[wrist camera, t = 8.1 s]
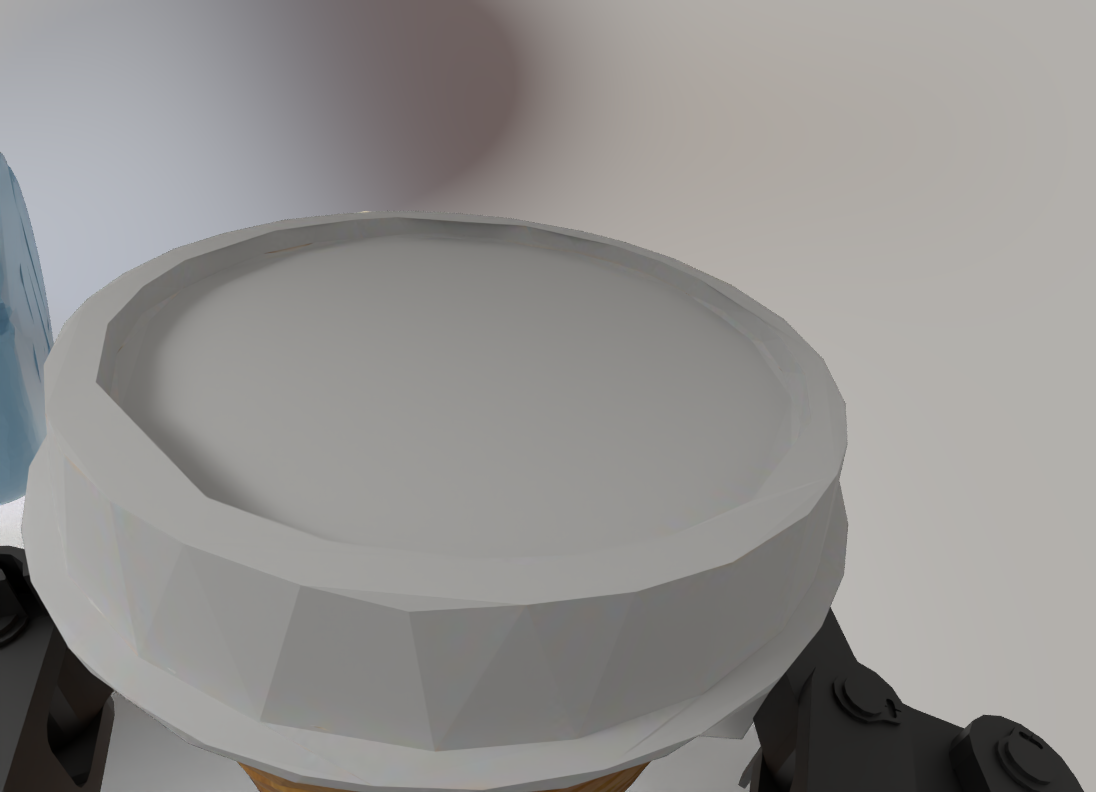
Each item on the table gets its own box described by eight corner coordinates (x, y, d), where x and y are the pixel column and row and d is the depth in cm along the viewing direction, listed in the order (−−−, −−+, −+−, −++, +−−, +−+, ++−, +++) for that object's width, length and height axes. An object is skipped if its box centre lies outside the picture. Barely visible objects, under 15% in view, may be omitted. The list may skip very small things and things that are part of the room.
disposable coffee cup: (671, 662, 16) (836, 278, 10) (596, 1204, 9) (1148, 1056, 2) (386, 558, 18) (368, 177, 12) (109, 926, 10) (-398, 388, 4)
